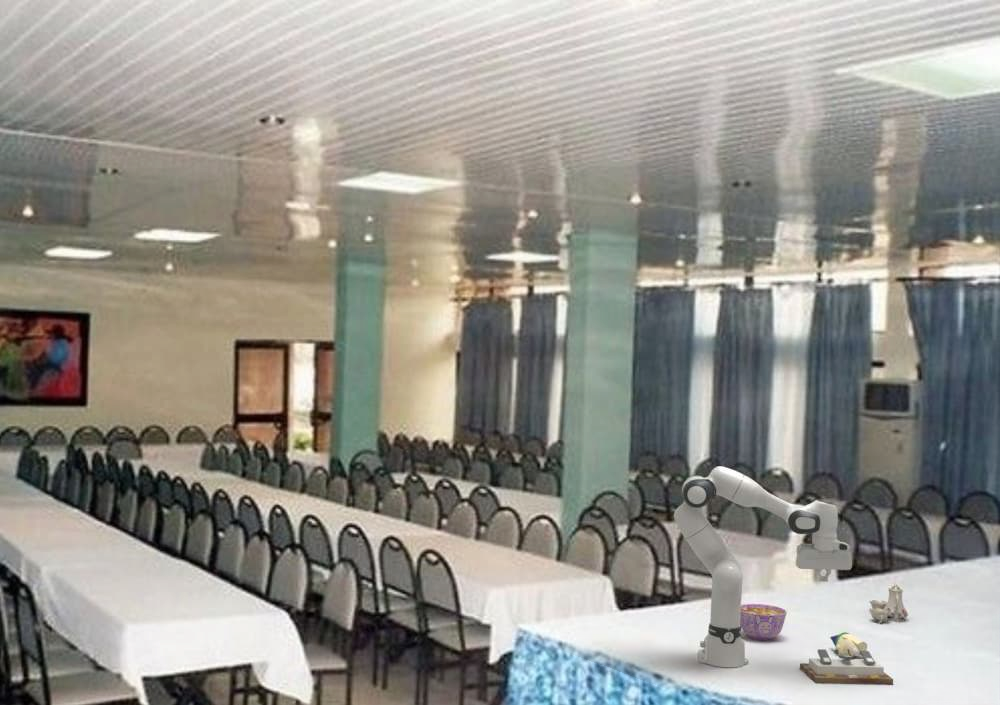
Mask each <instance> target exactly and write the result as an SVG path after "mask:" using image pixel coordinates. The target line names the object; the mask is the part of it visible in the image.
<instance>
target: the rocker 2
mask: <svg viewBox="0 0 1000 705" xmlns="http://www.w3.org/2000/svg"><path fill="white" fill-rule="evenodd" d="M854 657H855V656H854ZM854 657H852V656H848V655H839V654H838V659H845V660H854V659H855V658H854Z"/></svg>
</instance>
